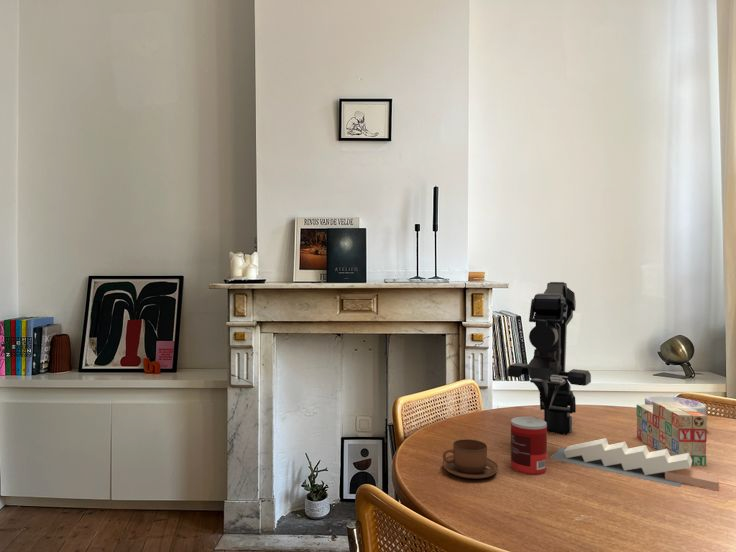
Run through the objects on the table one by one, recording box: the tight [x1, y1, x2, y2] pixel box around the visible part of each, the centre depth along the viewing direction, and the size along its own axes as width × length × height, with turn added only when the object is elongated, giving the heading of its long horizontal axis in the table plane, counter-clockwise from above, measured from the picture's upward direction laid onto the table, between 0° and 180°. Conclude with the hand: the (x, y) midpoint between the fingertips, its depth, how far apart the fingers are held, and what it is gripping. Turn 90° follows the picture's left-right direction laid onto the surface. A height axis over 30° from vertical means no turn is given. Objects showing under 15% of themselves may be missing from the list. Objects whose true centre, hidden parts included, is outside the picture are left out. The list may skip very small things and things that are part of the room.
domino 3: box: [601, 444, 650, 466], centre depth 109 cm, size 2×5×9 cm
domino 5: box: [642, 453, 692, 475], centre depth 104 cm, size 2×5×9 cm
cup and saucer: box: [442, 438, 499, 480], centre depth 107 cm, size 12×12×6 cm
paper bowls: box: [644, 395, 707, 416], centre depth 142 cm, size 15×15×8 cm
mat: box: [549, 446, 683, 488], centre depth 110 cm, size 26×10×1 cm, turn 53°
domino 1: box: [564, 437, 610, 458], centre depth 114 cm, size 2×5×9 cm
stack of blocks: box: [636, 402, 708, 467], centre depth 121 cm, size 21×6×12 cm, turn 174°
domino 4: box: [621, 449, 670, 471], centre depth 107 cm, size 2×5×9 cm
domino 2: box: [582, 441, 629, 462], centre depth 112 cm, size 2×5×9 cm
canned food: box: [510, 416, 548, 476], centre depth 108 cm, size 8×8×11 cm
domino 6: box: [665, 468, 719, 492], centre depth 102 cm, size 2×5×9 cm
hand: (547, 408), depth 119 cm, fingers closed
